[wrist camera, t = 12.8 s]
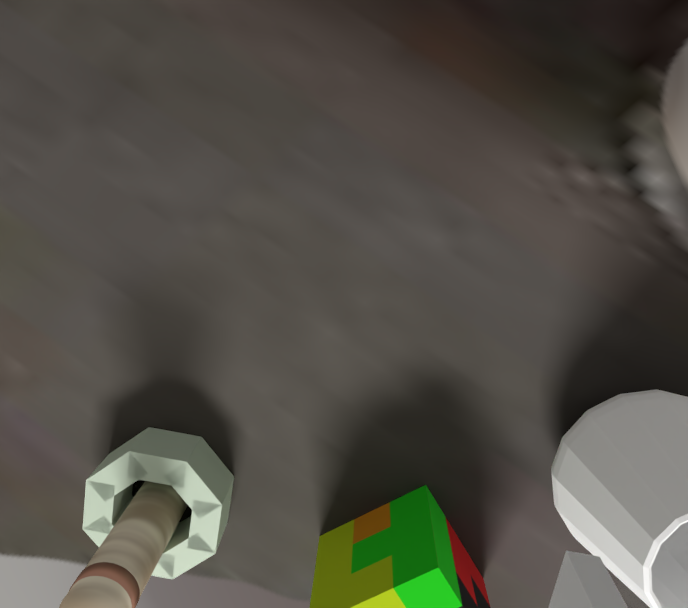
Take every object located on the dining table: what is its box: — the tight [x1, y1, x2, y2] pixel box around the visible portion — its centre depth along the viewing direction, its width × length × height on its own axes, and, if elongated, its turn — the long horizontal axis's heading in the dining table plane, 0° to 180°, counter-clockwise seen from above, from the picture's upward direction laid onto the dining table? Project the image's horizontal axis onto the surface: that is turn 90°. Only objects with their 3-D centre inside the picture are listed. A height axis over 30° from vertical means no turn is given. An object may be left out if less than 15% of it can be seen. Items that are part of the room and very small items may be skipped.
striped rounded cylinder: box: [59, 481, 188, 608], centre depth 43 cm, size 4×4×14 cm
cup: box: [551, 389, 688, 608], centre depth 40 cm, size 13×13×14 cm
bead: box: [83, 427, 234, 579], centre depth 48 cm, size 10×10×4 cm
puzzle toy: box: [310, 485, 490, 608], centre depth 45 cm, size 10×10×10 cm
